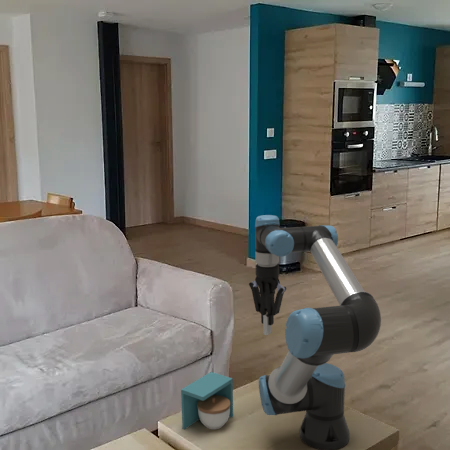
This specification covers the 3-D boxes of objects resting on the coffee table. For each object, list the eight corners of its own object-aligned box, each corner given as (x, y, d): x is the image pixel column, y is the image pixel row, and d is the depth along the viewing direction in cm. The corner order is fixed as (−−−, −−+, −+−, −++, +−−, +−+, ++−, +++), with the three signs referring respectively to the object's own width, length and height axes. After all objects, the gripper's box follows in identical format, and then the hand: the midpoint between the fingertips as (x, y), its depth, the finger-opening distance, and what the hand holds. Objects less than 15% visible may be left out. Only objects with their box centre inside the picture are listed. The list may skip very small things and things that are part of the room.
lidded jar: (227, 434, 188) (226, 407, 186) (194, 431, 190) (193, 404, 188) (233, 417, 198) (233, 391, 196) (202, 414, 200) (201, 389, 199)
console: (233, 416, 199) (232, 378, 196) (204, 437, 187) (203, 397, 184) (212, 408, 204) (211, 371, 202) (182, 428, 192) (181, 389, 189)
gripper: (291, 264, 189) (290, 334, 193) (256, 258, 196) (256, 326, 201) (279, 269, 183) (278, 341, 187) (243, 263, 190) (244, 333, 195)
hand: (267, 333), depth 194 cm, fingers closed
